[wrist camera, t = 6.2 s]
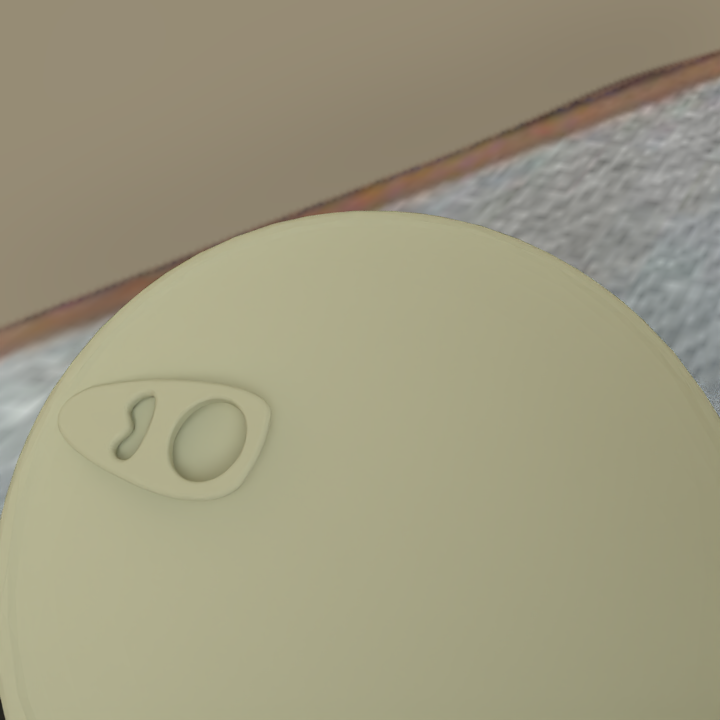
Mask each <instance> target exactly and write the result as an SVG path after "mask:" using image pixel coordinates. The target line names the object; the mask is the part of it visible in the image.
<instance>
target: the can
mask: <svg viewBox="0 0 720 720" xmlns="http://www.w3.org/2000/svg"><path fill="white" fill-rule="evenodd" d="M0 698H1V703H2V707H3V711H4V715H5V720H720V418H719V416H718V415H717V413H716V411H715V410H714V408H713V406H712V405H711V403H710V402H709V400H708V398H707V397H706V395H705V394H704V392H703V391H702V389H701V388H700V387H699V385H698V384H697V383H696V381H695V380H694V379H693V377H692V376H691V375H690V373H689V372H688V371H687V369H686V368H685V367H684V365H683V364H682V363H681V361H680V360H679V358H678V357H677V356H676V355H675V353H674V352H673V351H672V350H671V349H670V348H669V347H668V346H667V345H666V343H665V342H664V341H663V340H662V339H661V338H660V337H659V336H658V335H657V334H656V333H655V332H654V331H653V330H652V329H651V328H650V327H649V326H648V325H647V324H646V323H645V321H644V320H642V319H641V318H640V317H639V316H638V315H637V314H636V313H635V312H634V311H632V310H631V309H630V308H629V307H628V306H627V305H626V304H625V303H623V302H622V301H621V300H620V299H618V298H617V297H616V296H614V295H613V294H612V293H610V292H609V291H608V290H607V289H605V288H604V287H602V286H601V285H600V284H598V283H597V282H595V281H594V280H592V279H591V278H590V277H588V276H587V275H585V274H584V273H582V272H581V271H579V270H578V269H576V268H574V267H572V266H571V265H569V264H567V263H565V262H564V261H562V260H560V259H558V258H556V257H555V256H553V255H551V254H549V253H547V252H545V251H543V250H541V249H539V248H536V247H534V246H532V245H530V244H528V243H525V242H523V241H521V240H519V239H517V238H514V237H511V236H508V235H505V234H502V233H500V232H497V231H494V230H491V229H488V228H485V227H482V226H479V225H475V224H470V223H466V222H462V221H458V220H453V219H449V218H444V217H439V216H433V215H427V214H420V213H409V212H398V211H348V212H338V213H328V214H321V215H313V216H307V217H302V218H298V219H293V220H289V221H284V222H280V223H275V224H272V225H269V226H266V227H263V228H260V229H257V230H254V231H251V232H248V233H245V234H242V235H239V236H236V237H234V238H232V239H230V240H228V241H225V242H223V243H221V244H219V245H217V246H214V247H212V248H210V249H208V250H206V251H203V252H201V253H199V254H197V255H196V256H194V257H192V258H191V259H189V260H187V261H185V262H184V263H182V264H180V265H179V266H177V267H175V268H174V269H172V270H170V271H169V272H167V273H166V274H164V275H163V276H161V277H160V278H159V279H157V280H156V281H154V282H153V283H152V284H150V285H149V286H148V287H146V288H145V289H144V290H143V291H141V292H140V293H139V294H138V295H137V296H135V297H134V298H133V299H132V300H131V301H130V302H128V303H127V304H126V305H125V306H124V307H123V308H122V309H120V310H119V311H118V312H117V313H116V314H115V315H114V316H113V317H112V318H111V319H110V320H109V321H108V322H107V323H106V324H105V325H104V326H103V327H101V328H100V329H99V330H98V332H97V333H96V334H95V335H94V336H93V338H92V339H91V340H90V341H89V342H88V344H87V345H86V346H85V347H84V348H83V350H82V351H81V352H80V353H79V354H78V356H77V357H76V358H75V359H74V360H73V362H72V363H71V365H70V366H69V367H68V369H67V370H66V372H65V373H64V374H63V376H62V377H61V379H60V380H59V381H58V383H57V384H56V386H55V387H54V388H53V390H52V392H51V394H50V395H49V397H48V399H47V400H46V402H45V404H44V406H43V407H42V409H41V411H40V413H39V415H38V417H37V419H36V421H35V423H34V425H33V427H32V429H31V431H30V433H29V435H28V438H27V440H26V442H25V445H24V447H23V449H22V452H21V454H20V457H19V459H18V461H17V464H16V467H15V470H14V473H13V476H12V480H11V483H10V486H9V489H8V492H7V495H6V499H5V503H4V507H3V511H2V515H1V519H0Z"/></svg>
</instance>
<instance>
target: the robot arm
mask: <svg viewBox="0 0 720 720" xmlns="http://www.w3.org/2000/svg"><path fill="white" fill-rule="evenodd" d="M0 720H5V715H4V711H3V707H2V703H1V698H0Z"/></svg>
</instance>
